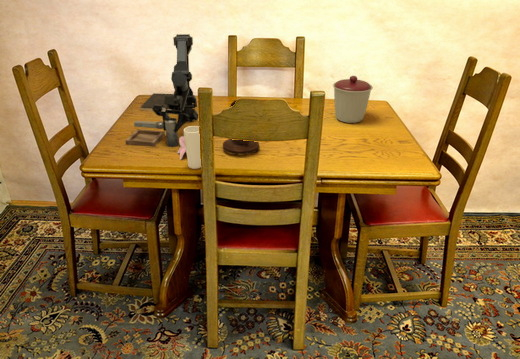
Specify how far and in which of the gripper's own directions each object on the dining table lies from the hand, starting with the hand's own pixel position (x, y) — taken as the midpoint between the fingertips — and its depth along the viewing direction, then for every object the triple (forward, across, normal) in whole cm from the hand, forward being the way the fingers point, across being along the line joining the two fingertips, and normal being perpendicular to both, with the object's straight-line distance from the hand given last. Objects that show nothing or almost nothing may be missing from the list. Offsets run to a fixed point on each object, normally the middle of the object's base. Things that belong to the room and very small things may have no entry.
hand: (169, 131), depth 185 cm
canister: (-34, +66, +44) cm, 86 cm away
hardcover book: (-29, -30, +39) cm, 57 cm away
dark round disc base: (+1, +29, +9) cm, 30 cm away
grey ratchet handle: (-7, -20, +17) cm, 27 cm away
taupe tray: (+3, -13, +7) cm, 15 cm away
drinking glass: (+15, +17, -5) cm, 24 cm away
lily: (+9, +10, +1) cm, 13 cm away
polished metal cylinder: (+4, 0, +6) cm, 7 cm away
